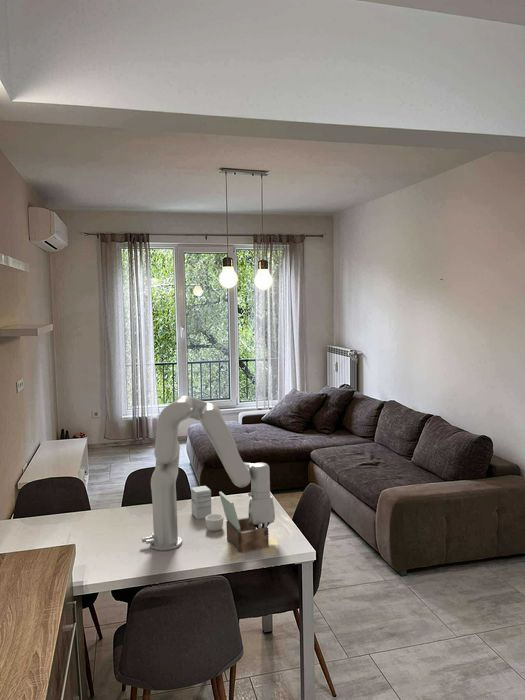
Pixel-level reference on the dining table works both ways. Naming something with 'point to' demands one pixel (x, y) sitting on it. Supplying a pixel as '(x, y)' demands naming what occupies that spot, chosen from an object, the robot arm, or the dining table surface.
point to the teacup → (214, 522)
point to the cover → (230, 511)
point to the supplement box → (201, 502)
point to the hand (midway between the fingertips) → (261, 538)
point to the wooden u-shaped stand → (247, 536)
